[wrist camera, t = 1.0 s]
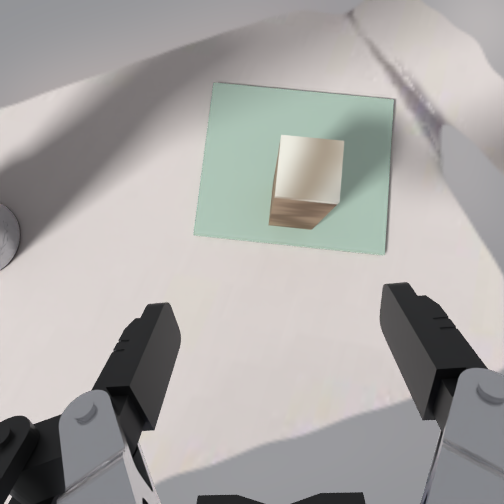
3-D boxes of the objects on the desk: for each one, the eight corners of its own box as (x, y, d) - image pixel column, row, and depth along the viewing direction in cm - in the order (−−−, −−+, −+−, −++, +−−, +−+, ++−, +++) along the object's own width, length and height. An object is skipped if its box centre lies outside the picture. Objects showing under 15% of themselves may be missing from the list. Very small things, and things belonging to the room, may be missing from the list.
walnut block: (268, 225, 34) (274, 195, 23) (272, 183, 35) (281, 134, 24) (311, 229, 34) (339, 202, 23) (315, 188, 35) (344, 140, 23)
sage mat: (194, 235, 35) (193, 234, 34) (214, 85, 37) (213, 82, 36) (382, 255, 34) (384, 254, 34) (391, 102, 36) (393, 99, 36)
